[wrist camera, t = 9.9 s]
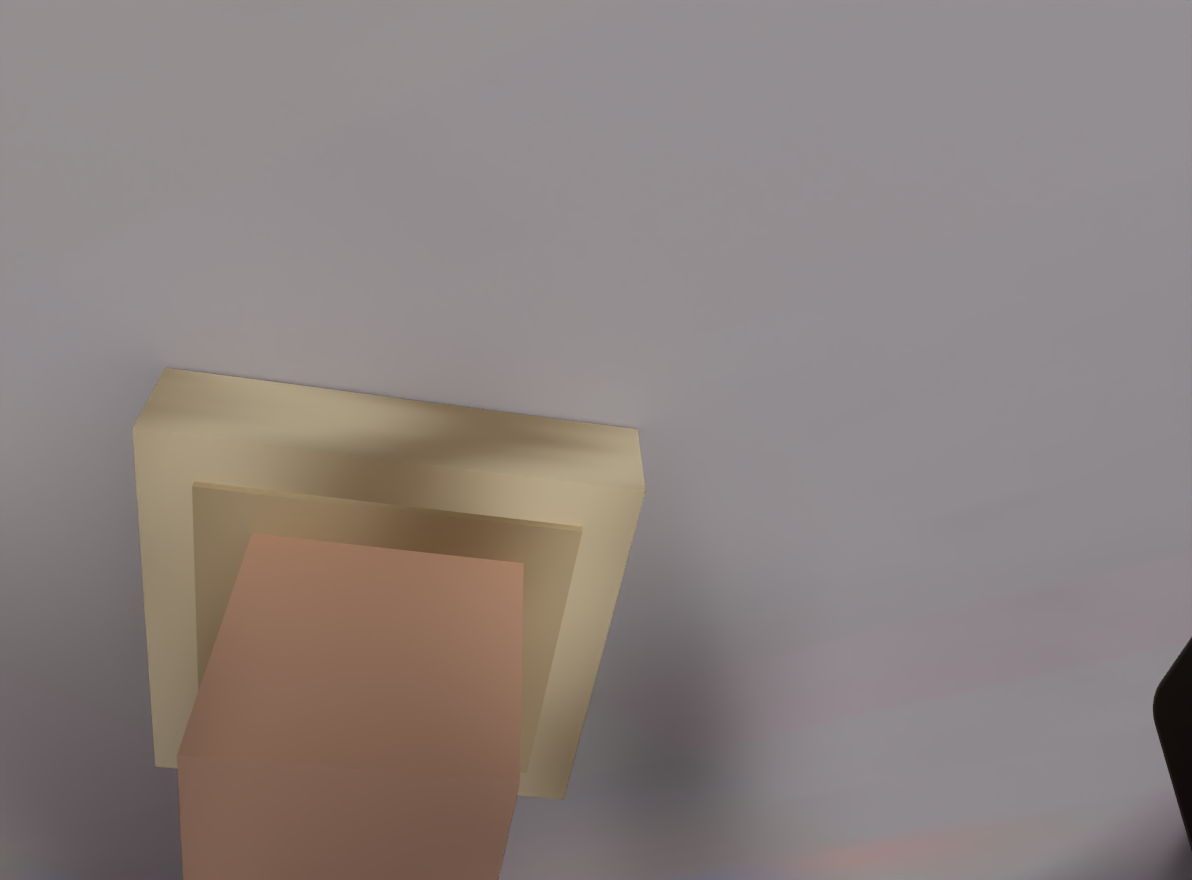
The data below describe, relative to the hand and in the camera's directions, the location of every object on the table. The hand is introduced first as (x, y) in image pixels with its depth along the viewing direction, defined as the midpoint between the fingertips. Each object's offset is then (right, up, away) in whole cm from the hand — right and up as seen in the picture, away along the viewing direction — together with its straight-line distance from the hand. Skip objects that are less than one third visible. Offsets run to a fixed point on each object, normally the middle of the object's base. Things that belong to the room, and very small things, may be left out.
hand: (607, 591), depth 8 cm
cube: (-4, -3, +14) cm, 15 cm away
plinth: (-5, -2, +16) cm, 16 cm away
